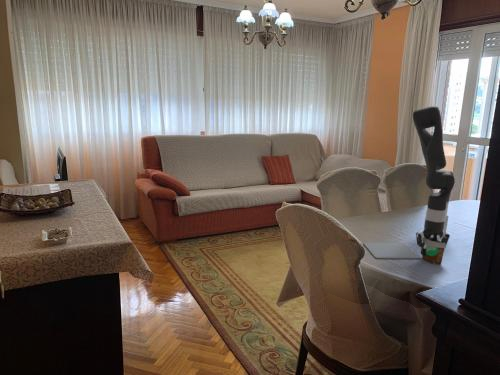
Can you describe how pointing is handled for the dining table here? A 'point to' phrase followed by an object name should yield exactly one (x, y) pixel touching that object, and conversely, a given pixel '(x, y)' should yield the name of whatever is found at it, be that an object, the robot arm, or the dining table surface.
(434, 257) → the food container
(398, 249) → the felt mat
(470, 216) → the dining table surface
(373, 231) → the dining table surface
